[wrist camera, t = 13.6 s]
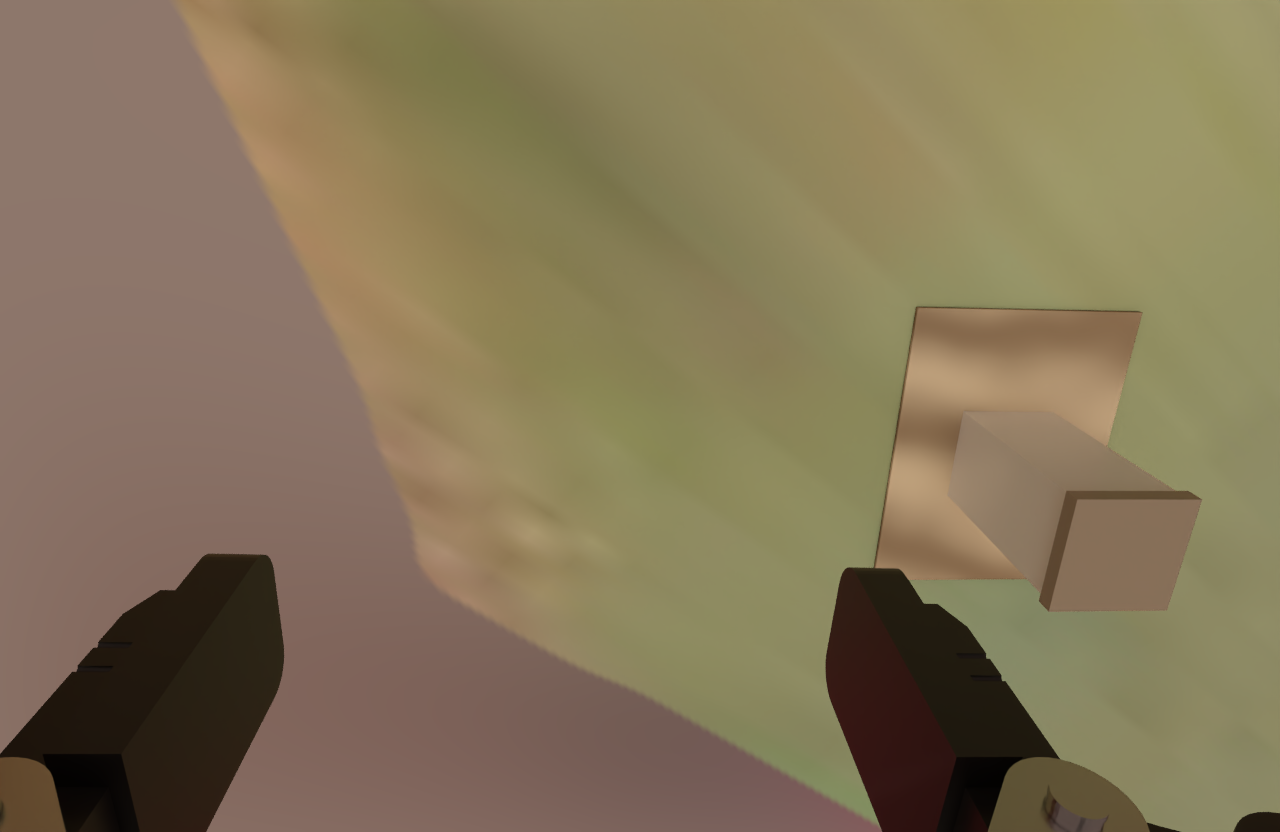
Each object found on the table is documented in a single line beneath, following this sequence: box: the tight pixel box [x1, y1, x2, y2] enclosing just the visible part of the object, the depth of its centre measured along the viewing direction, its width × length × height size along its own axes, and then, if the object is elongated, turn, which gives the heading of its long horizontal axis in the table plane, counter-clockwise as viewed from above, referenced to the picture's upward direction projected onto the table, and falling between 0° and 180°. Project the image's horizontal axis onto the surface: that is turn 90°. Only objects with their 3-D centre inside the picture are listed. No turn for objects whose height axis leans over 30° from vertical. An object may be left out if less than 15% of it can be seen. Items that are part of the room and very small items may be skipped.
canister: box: [947, 411, 1202, 612], centre depth 39 cm, size 5×5×11 cm
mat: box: [874, 307, 1142, 580], centre depth 44 cm, size 16×12×1 cm
